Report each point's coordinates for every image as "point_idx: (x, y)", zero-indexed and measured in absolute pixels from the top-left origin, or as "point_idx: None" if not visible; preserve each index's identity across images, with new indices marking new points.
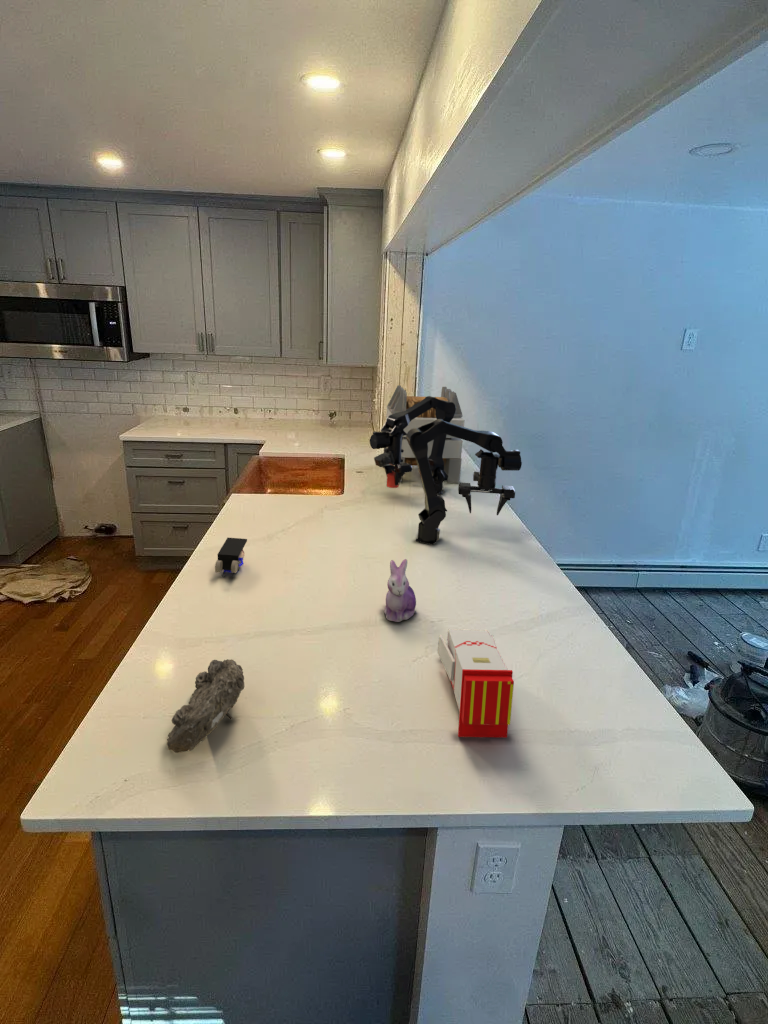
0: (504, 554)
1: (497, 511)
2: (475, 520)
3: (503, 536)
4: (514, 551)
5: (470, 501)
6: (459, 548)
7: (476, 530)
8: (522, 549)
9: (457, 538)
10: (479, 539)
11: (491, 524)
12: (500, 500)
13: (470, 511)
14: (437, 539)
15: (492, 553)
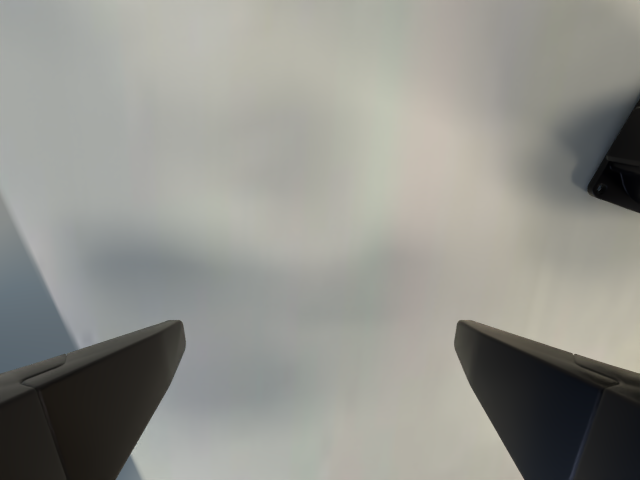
0: (169, 8)
1: (158, 336)
2: (331, 473)
3: (187, 308)
4: (106, 82)
5: (610, 385)
6: (476, 57)
7: (335, 359)
8: (59, 130)
9: (461, 228)
10: (328, 238)
11: (252, 443)
12: (24, 474)
13: (477, 324)
14: (635, 122)
15: (253, 9)
